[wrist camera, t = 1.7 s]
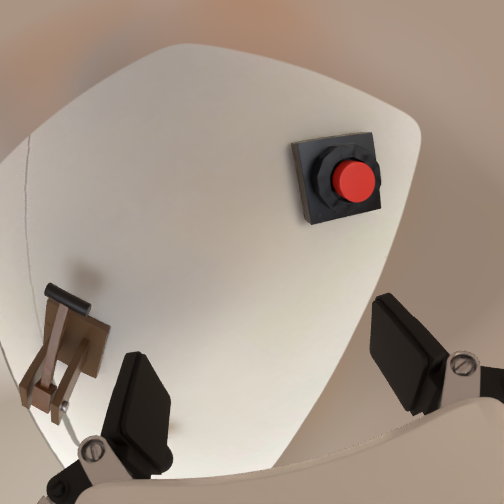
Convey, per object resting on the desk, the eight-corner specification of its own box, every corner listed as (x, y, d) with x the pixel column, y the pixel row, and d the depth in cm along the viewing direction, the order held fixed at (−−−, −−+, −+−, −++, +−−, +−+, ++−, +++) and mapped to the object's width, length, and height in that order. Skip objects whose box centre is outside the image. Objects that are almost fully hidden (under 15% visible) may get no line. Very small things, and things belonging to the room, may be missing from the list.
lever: (53, 281, 24) (45, 283, 21) (93, 302, 25) (87, 306, 23) (28, 390, 22) (21, 398, 19) (64, 409, 23) (59, 419, 21)
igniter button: (328, 163, 24) (336, 165, 22) (363, 157, 24) (372, 159, 22) (334, 201, 25) (342, 206, 24) (368, 194, 25) (377, 198, 24)
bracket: (50, 295, 29) (1, 359, 17) (110, 326, 31) (77, 403, 20) (46, 346, 32) (11, 408, 20) (98, 373, 34) (74, 442, 22)
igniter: (290, 142, 26) (302, 143, 23) (362, 132, 26) (381, 132, 23) (304, 219, 29) (317, 230, 26) (371, 203, 30) (390, 212, 26)
